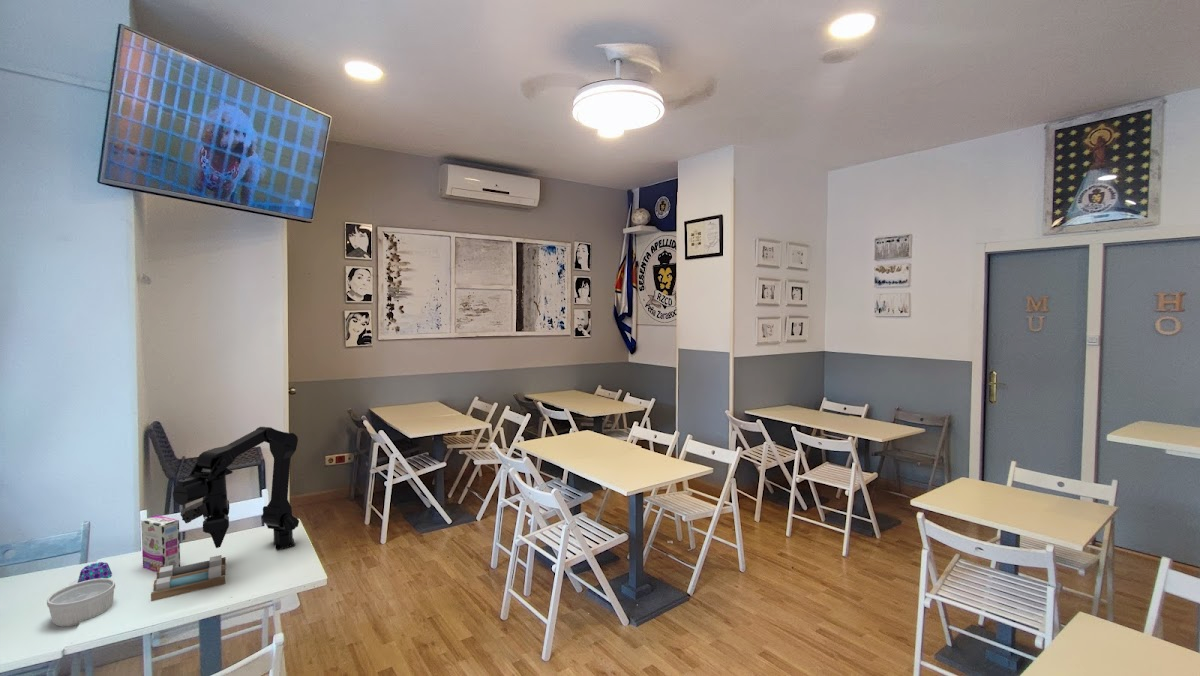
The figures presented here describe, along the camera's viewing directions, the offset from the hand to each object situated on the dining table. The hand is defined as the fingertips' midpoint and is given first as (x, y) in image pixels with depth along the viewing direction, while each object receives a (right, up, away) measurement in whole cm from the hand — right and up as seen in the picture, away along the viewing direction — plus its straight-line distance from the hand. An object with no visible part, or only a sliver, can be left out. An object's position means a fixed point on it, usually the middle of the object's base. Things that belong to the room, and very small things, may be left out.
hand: (218, 541), depth 164 cm
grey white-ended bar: (-8, -10, 0) cm, 13 cm away
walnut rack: (-6, -12, -3) cm, 13 cm away
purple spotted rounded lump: (-35, -12, -3) cm, 37 cm away
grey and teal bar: (-3, -11, -7) cm, 13 cm away
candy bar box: (-21, -11, +4) cm, 24 cm away
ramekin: (-22, -13, -20) cm, 32 cm away
